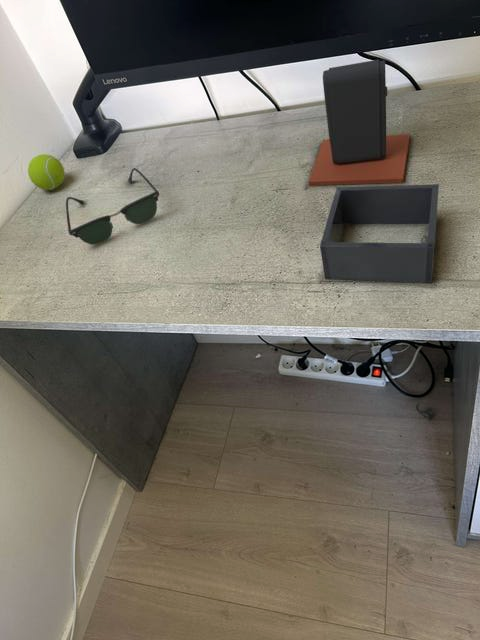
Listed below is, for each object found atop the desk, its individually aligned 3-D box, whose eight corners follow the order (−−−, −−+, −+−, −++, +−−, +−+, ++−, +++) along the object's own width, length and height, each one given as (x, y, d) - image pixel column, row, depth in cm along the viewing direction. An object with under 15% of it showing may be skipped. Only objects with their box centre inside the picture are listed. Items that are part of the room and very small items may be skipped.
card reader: (387, 147, 82) (386, 55, 72) (388, 160, 80) (387, 66, 69) (333, 154, 85) (323, 66, 74) (331, 167, 82) (322, 77, 72)
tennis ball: (33, 197, 103) (14, 168, 98) (49, 178, 107) (32, 149, 102) (61, 195, 100) (43, 165, 95) (76, 175, 104) (59, 146, 99)
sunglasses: (144, 175, 98) (134, 152, 94) (168, 215, 86) (158, 191, 82) (67, 209, 96) (54, 187, 92) (82, 255, 84) (68, 232, 81)
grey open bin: (436, 220, 69) (438, 184, 65) (431, 283, 62) (434, 247, 57) (340, 220, 74) (336, 187, 70) (324, 279, 67) (319, 246, 62)
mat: (409, 138, 84) (409, 133, 84) (403, 182, 76) (403, 178, 76) (323, 143, 90) (323, 139, 89) (309, 185, 82) (308, 181, 81)
